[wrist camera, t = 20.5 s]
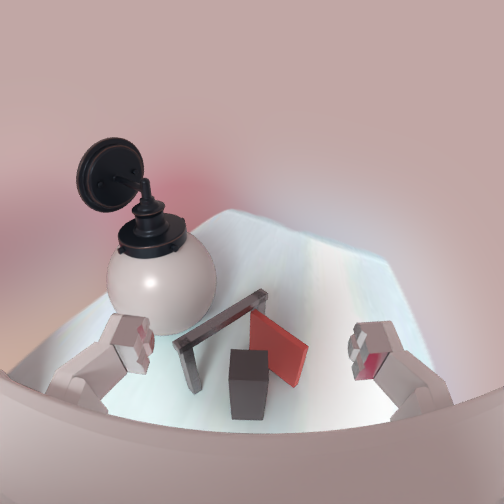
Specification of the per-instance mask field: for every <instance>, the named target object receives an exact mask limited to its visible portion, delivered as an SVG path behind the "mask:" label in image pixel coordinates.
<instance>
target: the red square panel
mask: <svg viewBox="0 0 504 504" xmlns="http://www.w3.org/2000/svg"><path fill="white" fill-rule="evenodd" d="M308 347H309V346H307V345H306V344H304V343H303V342H302V341H300V340H299V339H297V338H296V337H294V336H293V335H291V334H290V333H289V332H287V331H286V330H284V329H283V328H282V327H280V326H279V325H277V324H276V323H275V322H273V321H272V320H270V319H269V318H268V317H266V316H265V315H263V314H262V313H261V312H259V311H258V310H257V309H254V310H253V311H251V314H250V347H249V350H268V368H269V369H270V370H271V371H273V372H274V373H275V374H276V375H278V376H279V377H280V378H282V379H283V380H284V381H285V382H287V383H288V384H289V385H291V386H292V387H293V388H294V387H295V386H296V385H297V384H298V382H299V378H300V375H301V372H302V368H303V365H304V361H305V358H306V354H307V350H308Z"/></svg>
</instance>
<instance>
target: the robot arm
mask: <svg viewBox="0 0 504 504" xmlns="http://www.w3.org/2000/svg"><path fill="white" fill-rule="evenodd" d="M149 326H150V321H149V318H147V317H141V316H133V315H126V314H118V313H113V314H112V315H111V316H110V318H109V321H108V323H107V325H106V327H105V329H104V331H103V333H102V335H101V337H100V339H99V342H94V343H93V344H92V345H90V346H89V347H87V348H86V349H85V350H83V351H82V352H80V353H79V354H78V355H76V356H75V357H74V358H72V359H71V360H69V361H68V362H67V363H65V364H64V365H62V366H61V367H60V368H58V369H57V370H56V371H55V373H54V375H53V378H52V380H51V382H50V384H49V387H48V389H47V391H46V393H45V394H43V393H41V392H38V391H36V390H33V389H31V388H28V387H26V386H24V385H21V384H19V383H17V382H15V381H12V380H11V379H10V378H9V376H8V375H7V374H6V373H5V372H4V371H3V370H0V504H504V386H503V387H501V388H498V389H496V390H494V391H491V392H489V393H487V394H484V395H481V396H479V397H476V398H474V399H471V400H468V401H465V402H462V403H459V404H456V405H454V404H453V402H452V399H451V396H450V393H449V391H448V388H447V386H446V383H445V381H444V380H443V379H442V378H440V377H439V376H438V375H437V374H435V373H434V372H433V371H432V370H431V369H429V368H428V367H427V366H426V365H424V364H423V363H422V362H421V361H420V360H418V359H417V358H416V357H415V356H413V355H412V354H411V353H410V352H408V351H404V349H403V347H402V344H401V342H400V339H399V337H398V335H397V332H396V330H395V328H394V325H393V323H392V322H391V321H380V322H363V323H356V324H355V326H354V329H353V330H354V334H353V335H352V336H351V337H350V339H349V342H348V354H349V359H351V360H352V361H353V362H354V363H353V365H352V371H353V375H354V379H355V380H367V379H374V381H375V382H376V383H377V385H378V386H379V387H380V388H381V389H382V390H383V391H384V392H385V394H386V395H387V396H388V397H389V398H390V399H391V400H392V401H393V403H394V404H395V405H396V406H397V407H398V408H399V409H398V410H397V411H396V412H395V413H394V414H393V415H392V417H391V418H390V420H391V422H386V423H381V424H375V425H369V426H363V427H356V428H349V429H340V430H331V431H320V432H306V433H284V434H249V433H226V432H212V431H201V430H192V429H184V428H176V427H169V426H163V425H157V424H151V423H146V422H141V421H136V420H131V419H126V418H122V417H118V416H113V415H109V414H108V410H107V408H106V407H105V406H104V404H103V403H102V402H101V401H100V400H101V399H102V398H103V397H104V396H105V395H106V394H107V393H108V392H109V391H110V390H111V389H112V388H113V387H114V386H115V385H116V384H117V383H118V382H119V381H120V380H121V379H122V378H123V377H124V376H125V375H126V374H127V372H129V373H136V374H144V375H146V373H147V370H148V366H149V363H150V361H149V358H148V356H149V355H151V354H152V353H153V349H154V342H155V339H154V333H153V331H152V330H151V329H150V328H149Z"/></svg>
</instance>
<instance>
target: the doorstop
mask: <svg viewBox="0 0 504 504" xmlns="http://www.w3.org/2000/svg"><path fill="white" fill-rule="evenodd" d="M268 381H269V378H268V350H237V349H231V355H230V367H229V392H230V404H231V415H232V419H235V420H263V416H264V409H265V402H266V395H267V388H268Z"/></svg>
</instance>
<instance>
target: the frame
mask: <svg viewBox="0 0 504 504" xmlns="http://www.w3.org/2000/svg"><path fill="white" fill-rule="evenodd" d="M267 299H268V293H267V292H265V291H264V290H262V289H259V290H257V291H256V292H254V293H253V294H251V295H249V296H248V297H246V298H244V299H243V300H241V301H240V302H238V303H236V304H235V305H233V306H231V307H230V308H228V309H226V310H225V311H223V312H222V313H220V314H218V315H217V316H215V317H213V318H212V319H210V320H208V321H207V322H205V323H203V324H201V325H200V326H198V327H196V328H195V329H193V330H191V331H190V332H188V333H186V334H185V335H183V336H181V337H179V338H178V339H176V340H174V341H172V343H173V347H174V348H175V349H176V351H177V352H178V354H179V358H180V361H181V365H182V368H183V371H184V375H185V378H186V381H187V385H188V388H189V389H190V391H191V392H192V393H193V394H194V395H195V394H196V393H198V392H199V391H201V390H202V388H201V384H200V380H199V375H198V371H197V366H196V362H195V357H194V353H193V348H192V347H194V346H195V345H197V344H199V343H200V342H202V341H204V340H205V339H207V338H208V337H210V336H212V335H213V334H215V333H216V332H218V331H220V330H221V329H223V328H224V327H226V326H227V325H229V324H231V323H232V322H234V321H235V320H237V319H238V318H240V317H241V316H243V315H244V314H246V313H248V312H249V311H253V310H254V309H257V310H258V311H259V312H261V313H262V314H263V315H265V303H266V300H267Z"/></svg>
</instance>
